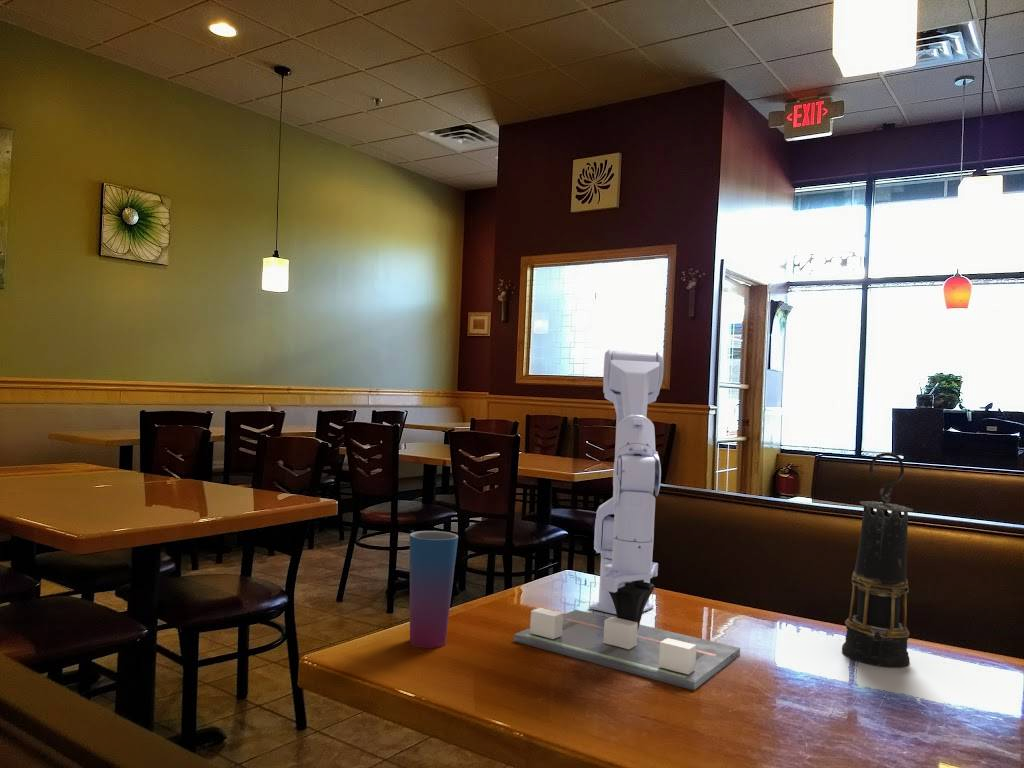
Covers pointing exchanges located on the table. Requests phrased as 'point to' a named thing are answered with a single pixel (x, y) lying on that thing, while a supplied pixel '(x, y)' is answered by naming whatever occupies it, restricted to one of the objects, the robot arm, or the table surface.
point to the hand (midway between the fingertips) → (628, 633)
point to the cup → (431, 586)
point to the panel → (631, 650)
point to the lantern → (880, 583)
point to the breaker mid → (620, 632)
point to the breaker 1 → (546, 623)
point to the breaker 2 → (677, 656)
